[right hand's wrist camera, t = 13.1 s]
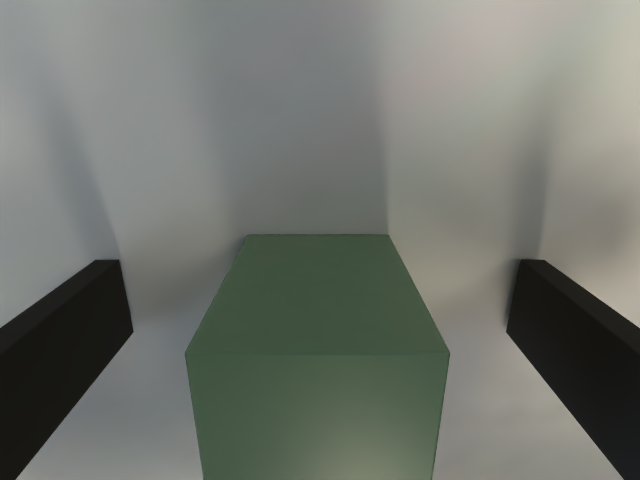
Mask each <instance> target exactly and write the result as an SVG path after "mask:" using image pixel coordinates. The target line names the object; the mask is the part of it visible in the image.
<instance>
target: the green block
mask: <svg viewBox="0 0 640 480" xmlns="http://www.w3.org/2000/svg"><path fill="white" fill-rule="evenodd" d="M449 357H450V352H449V350H448V348H447V346H446V344H445V342H444V340H443V338H442V336H441V334H440V332H439V330H438V328H437V327H436V325H435V323H434V321H433V319H432V317H431V315H430V313H429V311H428V309H427V307H426V305H425V303H424V302H423V300H422V298H421V296H420V294H419V292H418V290H417V288H416V286H415V284H414V282H413V280H412V279H411V277H410V275H409V273H408V271H407V269H406V267H405V265H404V263H403V261H402V259H401V257H400V255H399V254H398V252H397V250H396V248H395V246H394V244H393V242H392V240H391V238H390V236H389V235H248V236H247V237H246V239H245V241H244V243H243V245H242V247H241V249H240V251H239V252H238V254H237V256H236V258H235V260H234V262H233V264H232V266H231V267H230V269H229V271H228V273H227V275H226V277H225V279H224V281H223V282H222V284H221V286H220V288H219V290H218V292H217V294H216V296H215V297H214V299H213V301H212V303H211V305H210V307H209V309H208V311H207V312H206V314H205V316H204V318H203V320H202V322H201V324H200V326H199V327H198V329H197V331H196V333H195V335H194V337H193V339H192V341H191V342H190V344H189V346H188V348H187V350H186V352H185V358H186V365H187V371H188V378H189V385H190V391H191V398H192V405H193V412H194V418H195V425H196V432H197V438H198V445H199V452H200V459H201V465H202V472H203V479H204V480H432V476H433V469H434V462H435V455H436V448H437V441H438V434H439V427H440V420H441V413H442V406H443V399H444V392H445V385H446V378H447V371H448V364H449Z"/></svg>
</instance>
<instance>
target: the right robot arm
mask: <svg viewBox="0 0 640 480" xmlns="http://www.w3.org/2000/svg"><path fill="white" fill-rule="evenodd" d="M133 332H134V331H133V326H132V321H131V316H130V312H129V307H128V302H127V297H126V292H125V287H124V282H123V277H122V272H121V267H120V262H119V260H95V261H93V262H92V263H91V264H89V265H88V266H86V267H85V268H84V269H82V270H81V271H79V272H78V273H77V274H75V275H74V276H72V277H71V278H70V279H68V280H67V281H65V282H64V283H63V284H61V285H60V286H58V287H57V288H56V289H54V290H53V291H51V292H50V293H49V294H47V295H46V296H44V297H43V298H42V299H40V300H39V301H38V302H36V303H35V304H33V305H32V306H31V307H29V308H28V309H26V310H25V311H24V312H22V313H21V314H19V315H18V316H17V317H15V318H14V319H12V320H11V321H10V322H8V323H7V324H5V325H4V326H3V327H1V328H0V480H16V478H17V477H18V476H19V475H20V473H21V472H22V471H23V470H24V468H25V467H26V466H27V465H28V463H29V462H30V461H31V460H32V458H33V457H34V456H35V455H36V453H37V452H38V451H39V450H40V448H41V447H42V446H43V445H44V443H45V442H46V441H47V440H48V438H49V437H50V436H51V435H52V433H53V432H54V431H55V430H56V428H57V427H58V426H59V425H60V423H61V422H62V421H63V420H64V418H65V417H66V416H67V415H68V413H69V412H70V411H71V410H72V408H73V407H74V406H75V405H76V403H77V402H78V401H79V400H80V398H81V397H82V396H83V395H84V393H85V392H86V391H87V390H88V388H89V387H90V386H91V385H92V383H93V382H94V381H95V380H96V378H97V377H98V376H99V375H100V373H101V372H102V371H103V370H104V368H105V367H106V366H107V365H108V363H109V362H110V361H111V360H112V358H113V357H114V356H115V355H116V353H117V352H118V351H119V350H120V348H121V347H122V346H123V345H124V343H125V342H126V341H127V340H128V338H129V337H130V336H131V335H132V333H133ZM506 333H507V334H508V335H509V336H510V338H511V339H512V340H513V341H514V343H515V344H516V345H517V346H518V348H519V349H520V350H521V351H522V353H523V354H524V355H525V356H526V358H527V359H528V360H529V361H530V363H531V364H532V365H533V366H534V368H535V369H536V370H537V371H538V373H539V374H540V375H541V376H542V378H543V379H544V380H545V381H546V383H547V384H548V385H549V386H550V388H551V389H552V390H553V391H554V393H555V394H556V395H557V396H558V398H559V399H560V400H561V401H562V403H563V404H564V405H565V406H566V408H567V409H568V410H569V411H570V413H571V414H572V415H573V416H574V418H575V419H576V420H577V421H578V423H579V424H580V425H581V426H582V428H583V429H584V430H585V431H586V433H587V434H588V435H589V436H590V438H591V439H592V440H593V441H594V443H595V444H596V445H597V446H598V448H599V449H600V450H601V451H602V453H603V454H604V455H605V456H606V458H607V459H608V460H609V461H610V463H611V464H612V465H613V466H614V468H615V469H616V470H617V471H618V473H619V474H620V475H621V476H622V478H623V479H624V480H640V328H638V327H637V326H636V325H634V324H633V323H632V322H630V321H629V320H627V319H626V318H625V317H623V316H622V315H620V314H619V313H618V312H616V311H615V310H613V309H612V308H611V307H609V306H608V305H606V304H605V303H604V302H602V301H601V300H599V299H598V298H597V297H595V296H594V295H592V294H591V293H590V292H588V291H587V290H585V289H584V288H583V287H581V286H580V285H578V284H577V283H576V282H574V281H573V280H571V279H570V278H569V277H567V276H566V275H564V274H563V273H562V272H560V271H559V270H558V269H556V268H555V267H553V266H552V265H551V264H549V263H548V262H546V261H545V260H521V261H520V266H519V271H518V275H517V280H516V285H515V290H514V295H513V300H512V305H511V310H510V315H509V320H508V325H507V330H506Z"/></svg>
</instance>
